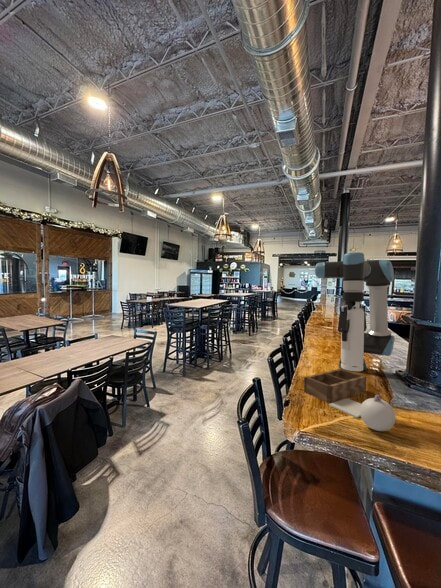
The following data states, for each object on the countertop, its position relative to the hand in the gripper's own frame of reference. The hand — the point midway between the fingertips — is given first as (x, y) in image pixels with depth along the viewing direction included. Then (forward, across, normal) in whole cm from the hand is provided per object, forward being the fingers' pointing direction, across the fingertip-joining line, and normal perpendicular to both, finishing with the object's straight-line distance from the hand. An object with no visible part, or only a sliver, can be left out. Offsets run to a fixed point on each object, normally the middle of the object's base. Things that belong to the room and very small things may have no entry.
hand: (352, 347), depth 105 cm
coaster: (+24, 0, 0) cm, 24 cm away
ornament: (+25, +7, +14) cm, 29 cm away
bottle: (+8, 0, 0) cm, 8 cm away
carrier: (+24, -9, -14) cm, 30 cm away
